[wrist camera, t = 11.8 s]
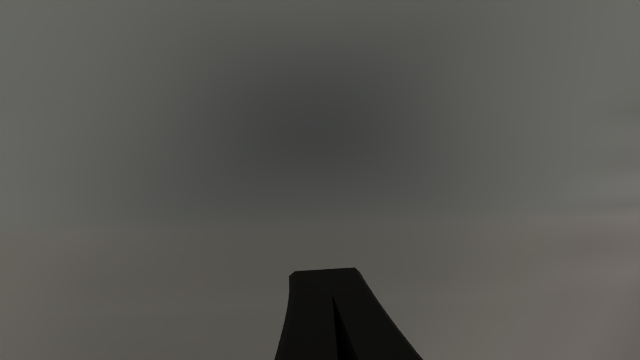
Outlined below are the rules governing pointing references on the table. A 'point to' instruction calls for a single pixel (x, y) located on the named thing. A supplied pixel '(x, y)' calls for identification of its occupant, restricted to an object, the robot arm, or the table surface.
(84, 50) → the table surface
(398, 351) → the robot arm
